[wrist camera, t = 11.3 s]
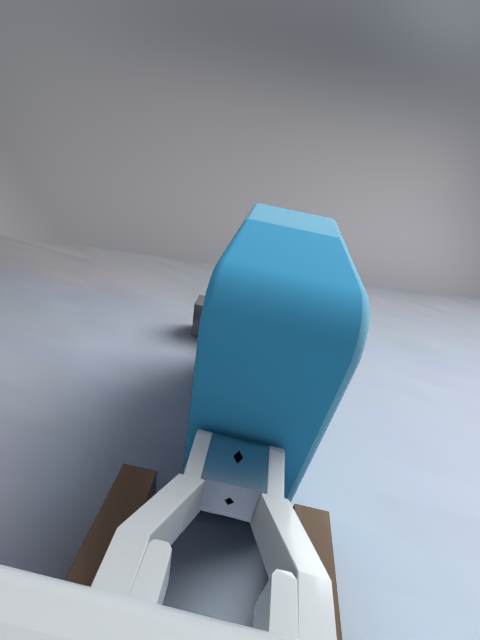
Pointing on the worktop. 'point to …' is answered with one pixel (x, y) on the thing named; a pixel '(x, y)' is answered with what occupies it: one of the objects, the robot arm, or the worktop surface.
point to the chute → (141, 486)
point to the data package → (278, 336)
